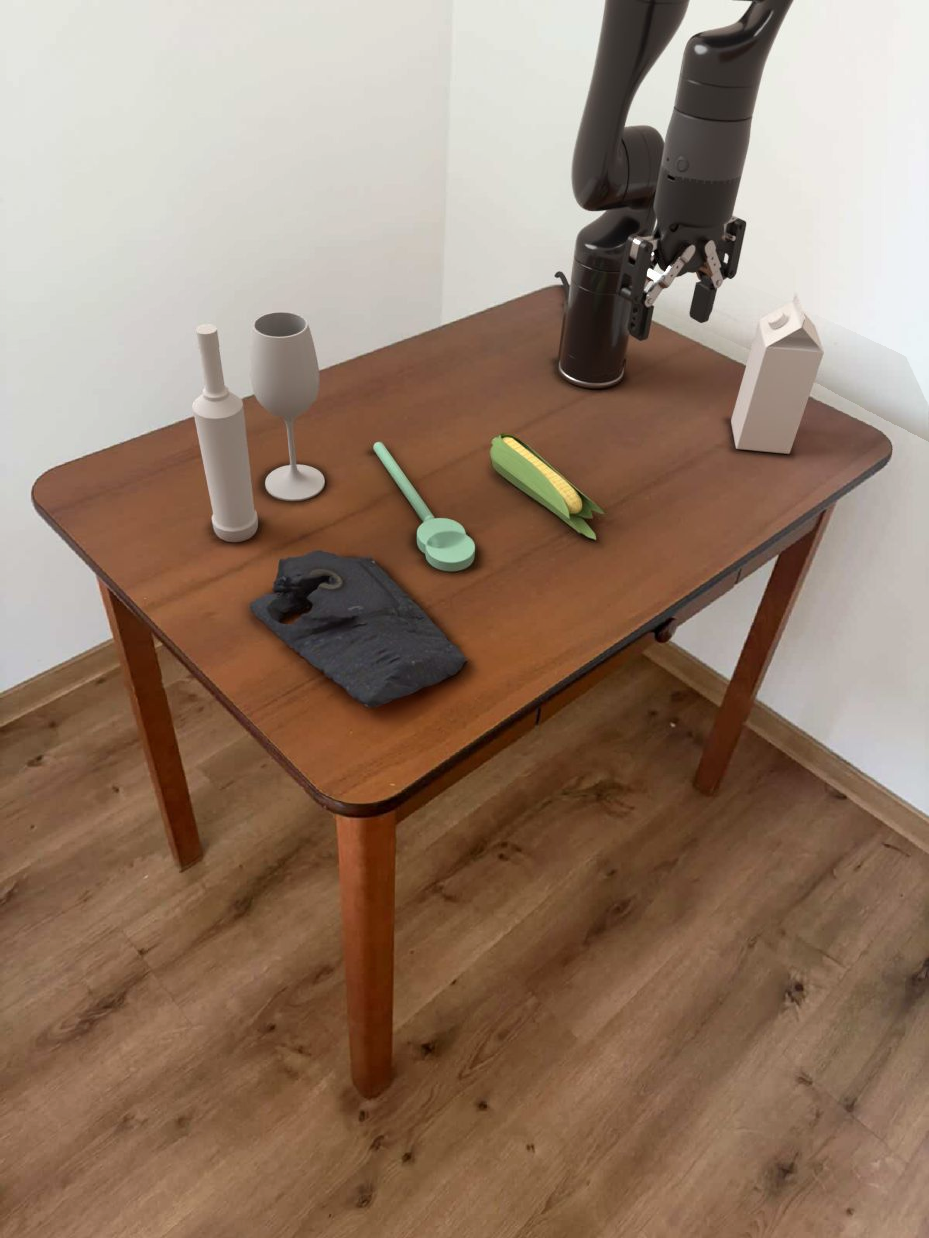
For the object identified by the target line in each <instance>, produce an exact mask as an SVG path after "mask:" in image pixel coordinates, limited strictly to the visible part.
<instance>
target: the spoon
mask: <svg viewBox="0 0 929 1238" xmlns="http://www.w3.org/2000/svg"><path fill="white" fill-rule="evenodd" d="M373 451H374V453H376V455H377V457H378V458H379V459H380V461H381V462H382V464H383V466H384V467H385V469H386V470H387V472H389V474H390V476H391V478H392V479H393V480H394V482H395V483H396V484H397V486H398V487H399V489H400V490H401V492H402V493H403V495H404V496H405V498H406V499H407V501H408V503H410V505H411V507H412V509H414V511H415V512H416V514H417V516H418V518H420V520H421V521H422V523H421V524H420V525H419V526H418V528H417V530H416V544H417V547H418V549H419V551H421V552H422V553H423V554H425V559H426V561H427V562H428V564H429V565H430V566H432V567H433V568H434V569H437V570H439V571H444V572H458V571H462V570H465V569H467V568H468V567H470V566H471V565H472V564H473V563H474V560H475V556H476V544H475V541H474V540H473V539H472V538H471V537H470V536H468V534H466V529H465V528H464V526H463V525H462V524H461V523H459V522H457V520H453V519H450V518H446V517H435V516H434V515H433V513H432V512H431V510H430V509H429V508H428V506H427V504H426V503H425V502H424V500H423V499H422V497H421V496H420V495H419V493H418V492H417V490H416V489H415V487H414V486H413V484H412V483H411V482H410V480H409V479H408V477H407V476H406V475H405V473H404V471H403V470H402V469H401V467H400V466H399V465H398V463H397V461H396V460H395V459H394V457H393V456H392V454H391V453H390V451H389V450H388V449H387V447H386V446H385V444H384V443H382V441H377V442H374V444H373Z"/></svg>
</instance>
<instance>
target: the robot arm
mask: <svg viewBox="0 0 929 1238" xmlns="http://www.w3.org/2000/svg"><path fill="white" fill-rule="evenodd" d="M733 1H737V2H750V4H749V6H748V8H747V9H746V10H745V11H744V13H743V14H742V16H741V17H740V18H739V19H738V20H737V21H735V22H734V23H732V24H729V25H726V26H723V27H717V28H713V29H708V30H704V31H700V32H697V33H695V34H693V35H692V36H690V38H689V39H688V41H687V42H686V45H685V47H684V51H683V53H682V60H681V64H680V65H681V66H680V71H679V75H678V76H679V77H678V81H677V87H676V88H677V89H676V91H675V98H674V104H673V109H672V113H671V117H670V119H669V123H668V126H667V129H666V134H665V138H663V136H662V134H661V133H660V131H659V130H657V128H655V127H653V126H651V125H648V124H640V125H639V124H637V125H629V126H628V125H627V126H626V123H627V119H628V116H629V112H630V110H631V107H632V104H633V101H634V99H635V97H636V94H637V93H638V91H639V89H640V87H641V86H642V84H643V82H644V80H645V79H646V78H647V76H648V74H649V72H651V70H652V69H653V68H654V66H655V64H656V63H657V62H658V60H659V59H660V58H661V56H662V55H663V54H664V52H665V50H666V49H667V48H668V46H669V44H670V43H671V42H672V40H673V39H674V37H675V36H676V34H677V32H678V30H679V29H680V27H681V26H682V23H683V21H684V19H685V17H686V14H687V11H688V8H689V5H690V0H604V5H603V6H604V7H603V13H602V20H601V27H600V32H599V38H598V44H597V49H596V54H595V59H594V65H593V69H592V75H591V79H590V84H589V86H588V91H587V95H586V100H585V104H584V107H583V111H582V115H581V118H580V123H579V126H578V130H577V135H576V139H575V142H574V148H573V152H572V153H573V154H572V160H571V169H570V170H571V171H570V180H571V188H572V193H573V197H574V199H575V201H576V203H577V204H578V205H579V207H580V208H581V209H583V210H585V211H587V212H603V213H602V214H600V216H599V217H597V218H596V219H595V220H593V221H591V222H590V223H588V224H586V225H585V226H584V227H583V228H581V229H580V230H579V232H578V233H577V235H576V238H575V243H574V250H573V258H572V259H573V260H572V266H571V275H570V283H569V280H568V279H567V277H566V275H565V274H564V272H563V271H560V270H559V271H557V272H555V273H554V278H556V279H560V281H561V283H562V285H563V288H564V291H565V296H566V300H565V302H564V307H563V314H562V322H561V331H560V338H559V346H558V354H557V363H558V373H559V375H560V376H561V377H562V378H563V379H564V381H567V382H568V383H570V384H572V385H574V386H577V387H581V388H586V389H595V390H597V389H607V388H610V387H613V386H616V385H617V384H619V383H620V382H621V381H622V379H623V378H624V372H625V370H624V369H625V365H626V363H627V352H628V347H629V341H630V336H631V337H632V338H634V339H636V340H638V341H639V342H642V341H646V340H648V339H649V336H650V330H651V325H652V319H653V315H654V310H655V305H653V304H654V303H655V302H656V300H657V299H658V297H659V296H660V294H661V292H662V291H663V290H665V289H668V288H669V287H670V286H671V285H672V284H673V282H674V280H675V279H676V278H679V277H682V276H684V275H685V274H688V273H690V274H694V273H695V275H696V276H697V277H696V278H697V279H698V280H699V281H697V282H695V286H694V289H693V296H692V299H691V303H690V308H689V311H688V312H689V314H688V315H689V317H690V318H691V319H693V320H694V321H696V322H697V323H699V324H703V323H707V322H708V321H709V320H710V316H711V314H712V312H713V309H714V305H715V300H716V296H717V292H718V289H719V288H721V286H722V285H723V283H724V281H725V280H726V279H729V280H733V279H734V278H735V276H736V275H737V272H738V269H739V264H740V263H739V262H740V259H741V253H742V249H743V244H744V239H745V234H746V229H747V221H746V220H744V219H742V218H740V217H738V216H735V215H734V210H735V207H736V202H737V197H738V193H739V189H740V185H741V181H742V177H743V171H744V167H745V163H746V159H747V155H748V151H749V146H750V141H751V140H750V139H751V132H752V131H751V130H752V123H753V118H754V117H753V115H754V111H755V107H756V104H757V103H756V102H757V98H758V95H759V91H760V85H761V82H762V78H763V74H764V70H765V66H766V63H767V61H768V58H769V55H770V53H771V50H772V48H773V45H774V43H775V41H776V38H777V36H778V34H779V32H780V30H781V27H782V25H783V23H784V20H785V18H786V17H787V14H788V12H789V10H790V9H791V7H792V5H793V3H794V0H733ZM726 255H727V261H725V258H726ZM657 265H658V268H659V270H661V271H662V272H663V273H659V272H657V271H655V268H656V266H657ZM650 282H652V284H651V285H650V287H649V288H648V290H647V291H646V287H647V286H648V285H649V283H650Z"/></svg>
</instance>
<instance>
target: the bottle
mask: <svg viewBox="0 0 929 1238" xmlns="http://www.w3.org/2000/svg"><path fill="white" fill-rule="evenodd" d="M195 335H196V340H197V347H198V350H199V356H200V362H201V363H200V364H201V370H202V377H203V383H204V387H203V389H202V394H200V395H199V396H198V397H197V398H195V400H194V401H193V403H192V405H191V406H192V407H191V408H192V412H193V417H194V422H195V426H196V433H197V438H198V444H199V448H200V454H201V458H202V463H203V467H204V468H203V469H204V473H205V479H206V483H207V489H208V494H209V499H210V504H211V509H212V510H211V511H212V515H211V524H212V528H213V531H214V533H215V535H216V536H217V537H218V538H219V539H220V540H222V541H224V542H227V543H239V542H245V541H247V540H249V539H252V537H253V536H254V535H256V532H257V530H258V527H259V517H258V512H257V510H256V509H255V505H254V503H255V502H254V495H253V487H252V475H251V466H250V456H249V447H248V438H247V428H246V427H247V426H246V418H245V410H244V403H243V399H242V398H241V397H240V396H238V395H237V394H235V393H234V392H231V391H230V390H229V387H228V386H226V385H225V379H224V373H223V365H222V359H221V358H222V357H221V351H220V341H219V333H218V328H217V326H216V325H214V324H211V323H204V324H203V323H202V324H200V325H198V326H197V327H196V328H195Z"/></svg>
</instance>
